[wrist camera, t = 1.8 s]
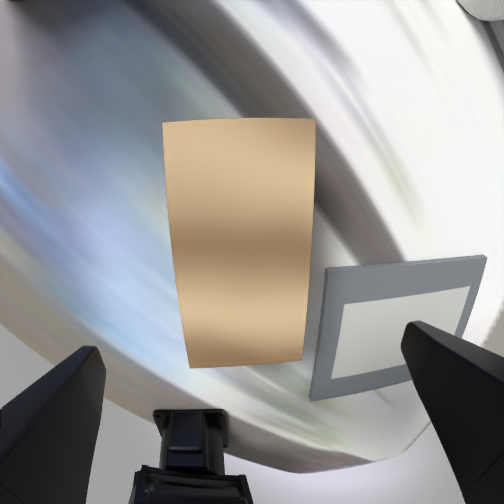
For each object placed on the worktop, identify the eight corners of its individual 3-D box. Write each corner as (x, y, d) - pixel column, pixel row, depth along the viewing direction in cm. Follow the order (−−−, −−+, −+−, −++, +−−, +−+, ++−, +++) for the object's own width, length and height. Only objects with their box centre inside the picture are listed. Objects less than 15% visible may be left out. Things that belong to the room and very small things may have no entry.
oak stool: (281, 303, 22) (301, 360, 16) (194, 308, 21) (189, 368, 15) (284, 122, 17) (315, 119, 11) (180, 125, 16) (162, 122, 11)
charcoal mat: (446, 364, 27) (448, 368, 27) (309, 396, 26) (310, 401, 25) (483, 254, 22) (487, 257, 22) (325, 268, 21) (328, 272, 20)
